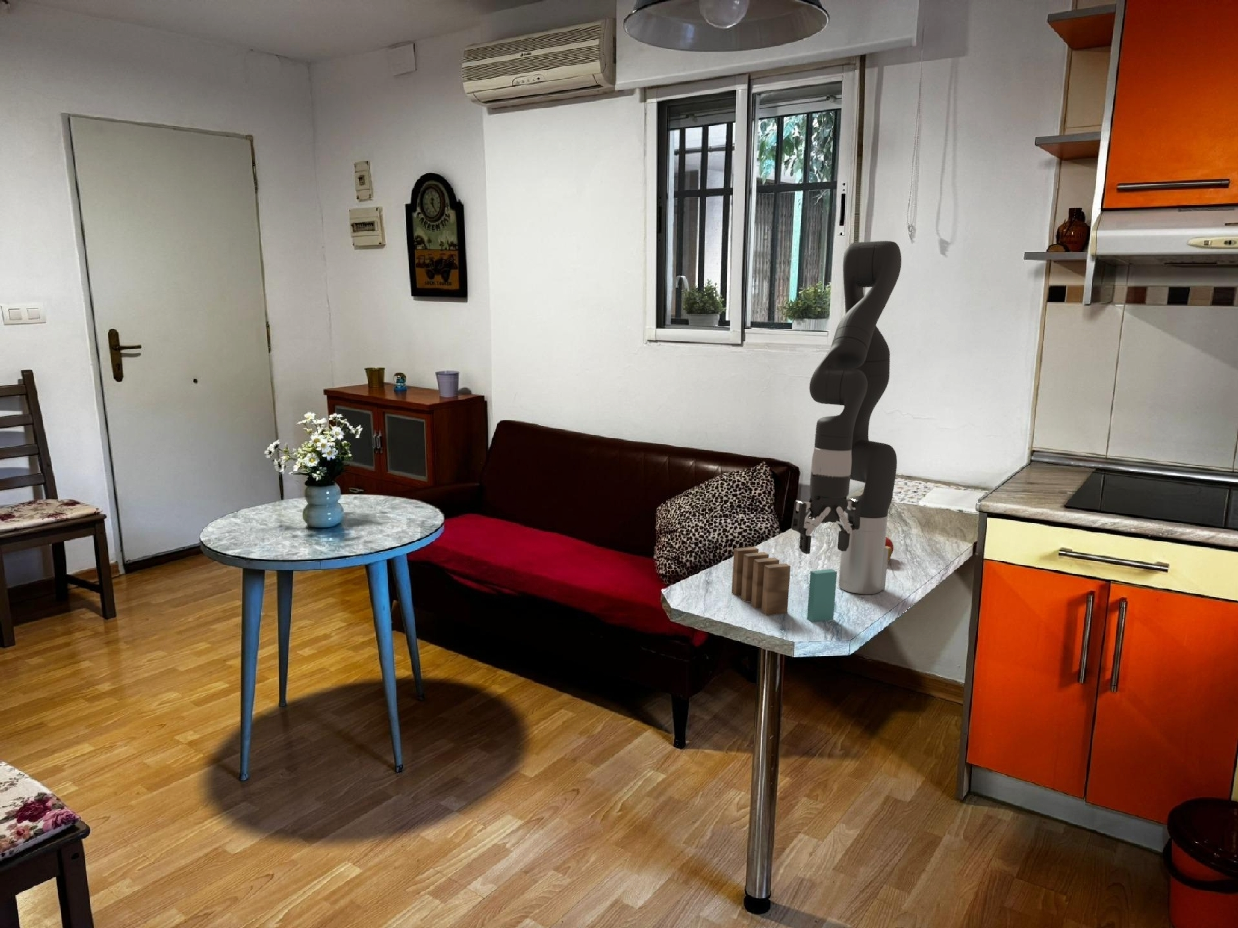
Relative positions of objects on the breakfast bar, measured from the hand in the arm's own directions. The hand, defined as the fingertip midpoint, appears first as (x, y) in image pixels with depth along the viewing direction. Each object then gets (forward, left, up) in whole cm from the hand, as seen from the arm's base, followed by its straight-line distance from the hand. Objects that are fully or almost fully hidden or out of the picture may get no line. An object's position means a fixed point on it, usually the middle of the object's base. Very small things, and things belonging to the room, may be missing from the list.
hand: (823, 551), depth 168 cm
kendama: (-35, -29, -14) cm, 47 cm away
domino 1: (+7, -18, -14) cm, 24 cm away
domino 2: (+7, -14, -14) cm, 21 cm away
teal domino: (0, 0, -14) cm, 14 cm away
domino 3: (+7, -10, -14) cm, 18 cm away
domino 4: (+7, -6, -14) cm, 17 cm away
